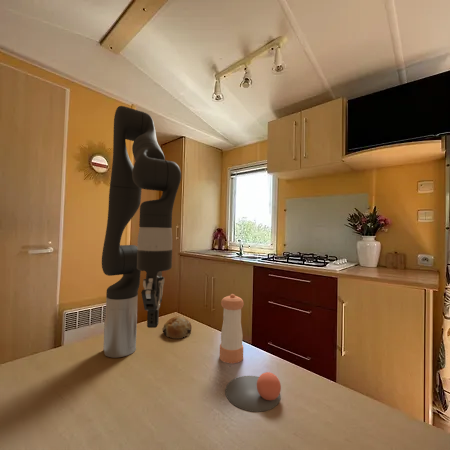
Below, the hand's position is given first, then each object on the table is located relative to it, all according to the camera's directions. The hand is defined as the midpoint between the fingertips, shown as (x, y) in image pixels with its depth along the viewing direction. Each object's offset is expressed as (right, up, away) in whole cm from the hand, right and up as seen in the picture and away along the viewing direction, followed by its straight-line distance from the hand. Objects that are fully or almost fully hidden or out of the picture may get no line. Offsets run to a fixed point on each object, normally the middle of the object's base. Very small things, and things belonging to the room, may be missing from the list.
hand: (152, 326), depth 55 cm
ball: (+26, -15, +3) cm, 30 cm away
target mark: (+23, -18, +5) cm, 29 cm away
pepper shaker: (+18, -18, +21) cm, 33 cm away
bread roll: (-2, -18, +38) cm, 42 cm away
